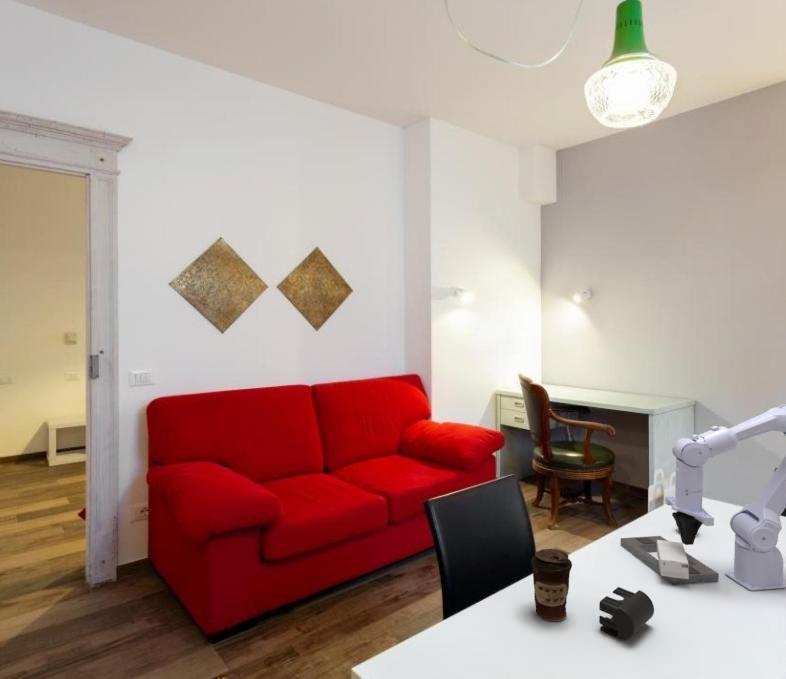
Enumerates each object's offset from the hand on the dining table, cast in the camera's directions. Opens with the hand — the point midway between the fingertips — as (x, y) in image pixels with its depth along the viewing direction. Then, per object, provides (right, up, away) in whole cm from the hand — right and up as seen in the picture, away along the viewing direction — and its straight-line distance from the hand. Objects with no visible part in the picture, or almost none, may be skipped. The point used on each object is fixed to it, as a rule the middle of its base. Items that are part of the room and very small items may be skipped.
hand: (687, 543), depth 126 cm
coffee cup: (-38, -9, -16) cm, 42 cm away
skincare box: (-1, -4, +7) cm, 8 cm away
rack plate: (-1, -8, +8) cm, 12 cm away
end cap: (-25, -10, -21) cm, 34 cm away
